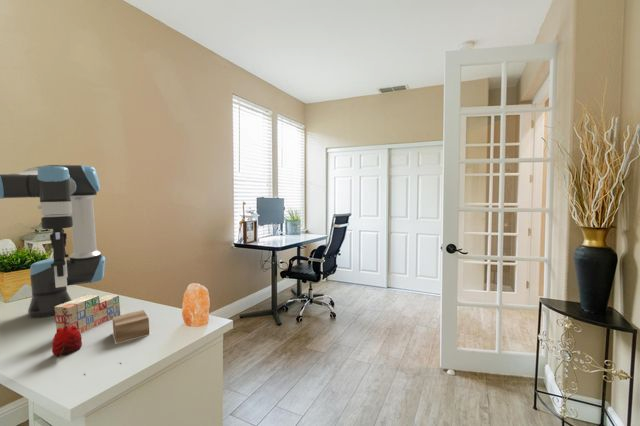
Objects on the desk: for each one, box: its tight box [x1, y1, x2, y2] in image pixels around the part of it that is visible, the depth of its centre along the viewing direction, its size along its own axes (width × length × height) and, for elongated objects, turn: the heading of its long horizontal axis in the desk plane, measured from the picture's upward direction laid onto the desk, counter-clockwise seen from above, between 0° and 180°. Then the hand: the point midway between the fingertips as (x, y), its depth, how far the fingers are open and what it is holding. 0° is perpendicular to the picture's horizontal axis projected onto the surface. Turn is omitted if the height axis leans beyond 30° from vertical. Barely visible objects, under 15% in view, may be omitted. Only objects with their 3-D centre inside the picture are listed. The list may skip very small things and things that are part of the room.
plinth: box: [112, 309, 151, 344], centre depth 112 cm, size 10×10×6 cm
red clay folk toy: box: [51, 311, 83, 358], centre depth 101 cm, size 8×7×15 cm
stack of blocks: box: [54, 294, 121, 334], centre depth 121 cm, size 21×6×12 cm, turn 168°
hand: (62, 282), depth 99 cm, fingers open, 13 cm apart
